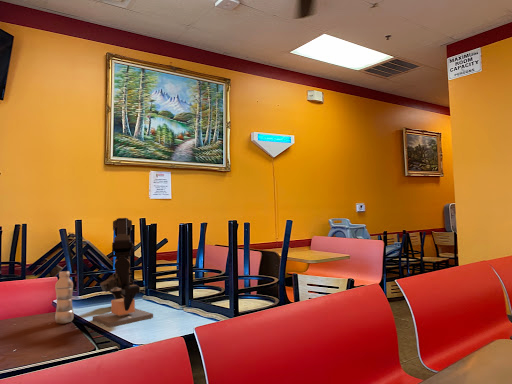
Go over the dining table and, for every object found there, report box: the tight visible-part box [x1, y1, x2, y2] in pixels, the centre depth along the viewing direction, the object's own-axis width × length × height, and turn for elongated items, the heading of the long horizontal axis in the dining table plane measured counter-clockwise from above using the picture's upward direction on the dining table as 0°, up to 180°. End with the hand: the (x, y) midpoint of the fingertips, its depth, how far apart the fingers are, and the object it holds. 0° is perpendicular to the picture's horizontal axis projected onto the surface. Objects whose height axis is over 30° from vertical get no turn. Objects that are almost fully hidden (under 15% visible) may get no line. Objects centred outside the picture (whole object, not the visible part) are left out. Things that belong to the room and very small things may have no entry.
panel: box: [92, 308, 154, 328], centre depth 156 cm, size 16×18×5 cm
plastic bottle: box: [54, 270, 75, 324], centre depth 153 cm, size 6×7×20 cm
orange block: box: [110, 298, 136, 315], centre depth 156 cm, size 6×7×5 cm
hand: (122, 309), depth 156 cm, fingers closed on orange block, 6 cm apart
